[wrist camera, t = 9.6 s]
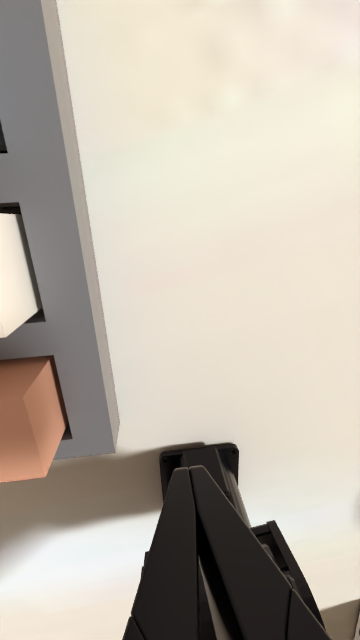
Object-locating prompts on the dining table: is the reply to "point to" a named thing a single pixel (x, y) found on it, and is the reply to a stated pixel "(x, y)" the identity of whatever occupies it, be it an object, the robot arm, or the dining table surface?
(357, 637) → the tea box
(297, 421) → the dining table surface
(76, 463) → the dining table surface
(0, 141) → the light grey cube
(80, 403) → the grey slotted tray
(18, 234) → the cream key
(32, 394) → the terracotta key
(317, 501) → the dining table surface
